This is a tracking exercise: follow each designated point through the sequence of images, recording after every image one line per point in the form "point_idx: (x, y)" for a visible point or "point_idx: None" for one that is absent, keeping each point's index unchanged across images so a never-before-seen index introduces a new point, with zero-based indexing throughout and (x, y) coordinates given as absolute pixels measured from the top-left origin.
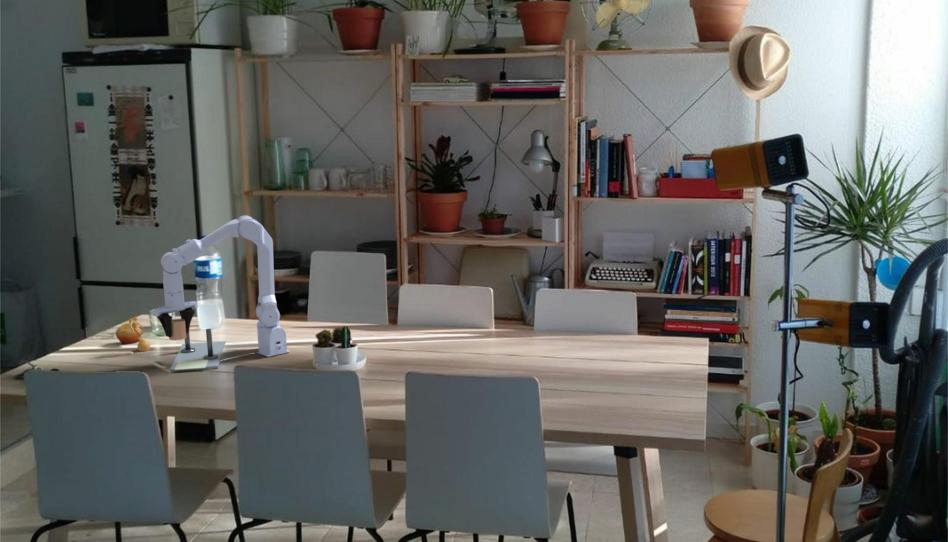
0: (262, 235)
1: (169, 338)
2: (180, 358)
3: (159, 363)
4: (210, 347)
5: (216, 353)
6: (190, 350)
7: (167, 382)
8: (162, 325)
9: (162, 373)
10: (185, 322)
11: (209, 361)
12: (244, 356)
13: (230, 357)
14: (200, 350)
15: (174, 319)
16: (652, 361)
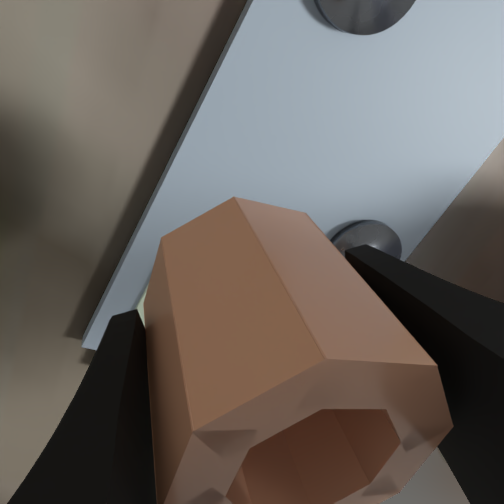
0: None
1: (144, 313)
2: (221, 153)
3: (55, 101)
4: None
5: (432, 188)
6: (365, 24)
7: (29, 471)
8: (49, 459)
9: (31, 344)
10: None
11: None
12: (480, 272)
13: (439, 252)
14: (430, 28)
15: (345, 390)
16: None
